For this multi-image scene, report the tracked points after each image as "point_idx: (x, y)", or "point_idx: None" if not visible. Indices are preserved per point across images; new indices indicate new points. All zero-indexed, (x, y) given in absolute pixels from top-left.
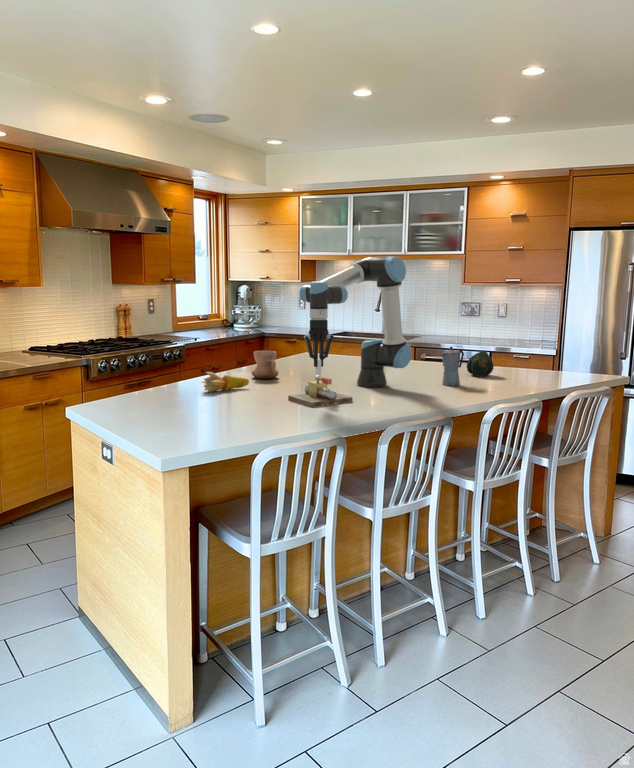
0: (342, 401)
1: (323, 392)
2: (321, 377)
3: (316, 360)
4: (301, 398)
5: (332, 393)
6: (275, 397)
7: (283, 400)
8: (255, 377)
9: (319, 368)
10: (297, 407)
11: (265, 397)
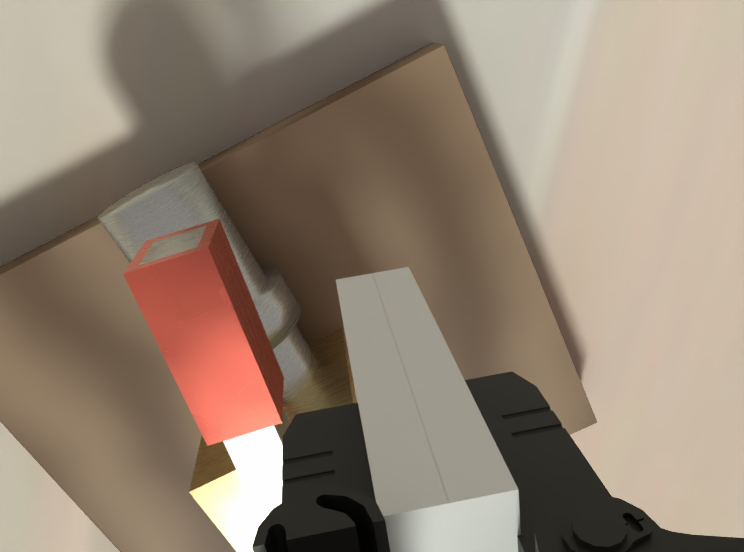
0: (51, 243)
1: (268, 291)
2: (280, 485)
3: (545, 505)
4: (508, 282)
5: (156, 190)
6: (652, 493)
7: (624, 382)
8: None
9: (394, 338)
10: (587, 52)
11: (729, 494)
